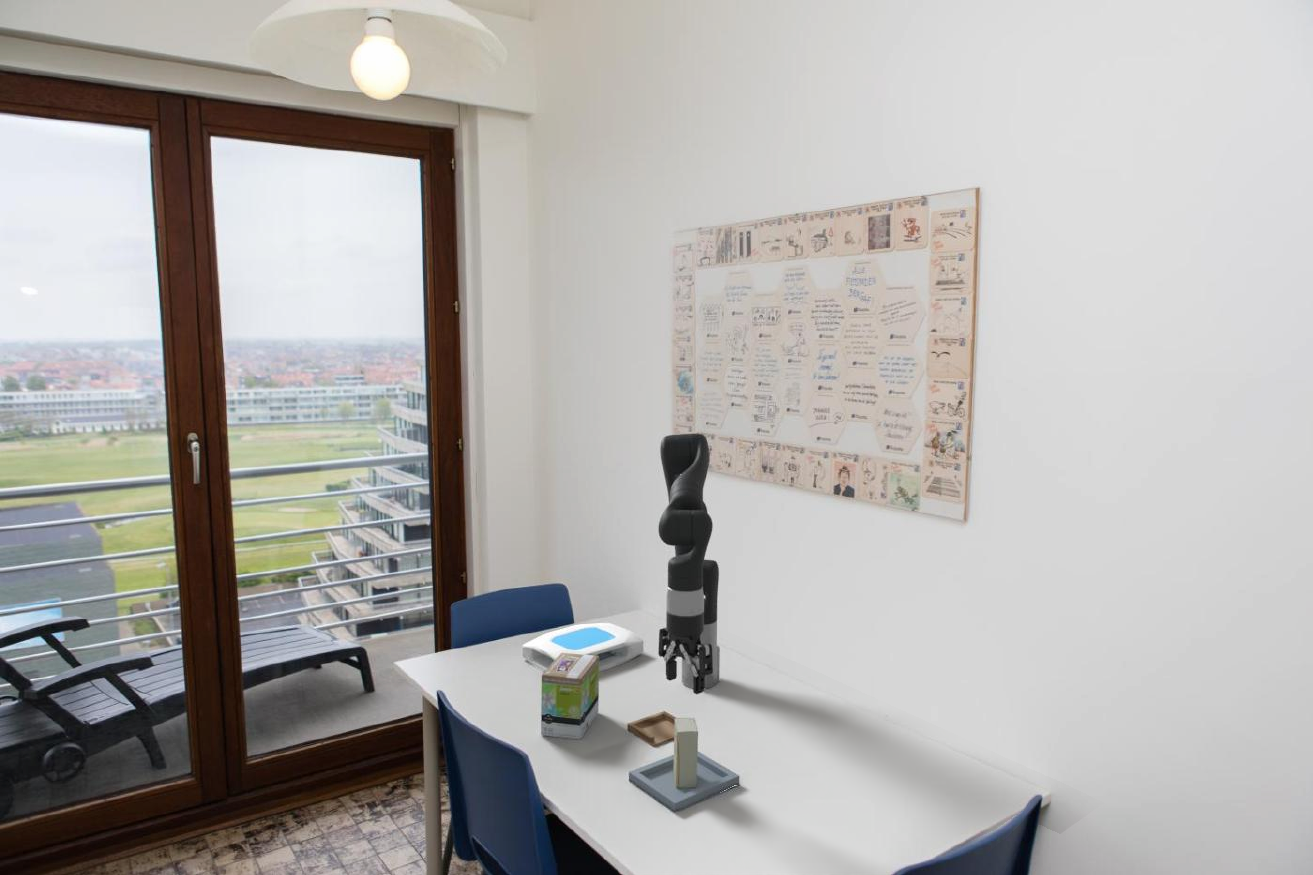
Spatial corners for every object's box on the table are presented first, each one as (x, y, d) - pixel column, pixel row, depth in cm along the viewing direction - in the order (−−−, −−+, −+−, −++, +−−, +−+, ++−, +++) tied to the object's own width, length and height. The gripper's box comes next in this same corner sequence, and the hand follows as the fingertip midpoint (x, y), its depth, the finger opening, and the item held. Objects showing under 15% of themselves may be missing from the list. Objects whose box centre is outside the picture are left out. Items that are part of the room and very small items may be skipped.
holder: (664, 717, 204) (664, 711, 204) (691, 733, 196) (691, 726, 196) (627, 730, 197) (627, 723, 197) (653, 746, 189) (653, 739, 189)
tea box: (582, 740, 192) (581, 678, 190) (540, 736, 194) (539, 674, 192) (599, 712, 207) (599, 654, 205) (560, 708, 209) (559, 650, 207)
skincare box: (673, 773, 177) (673, 717, 175) (694, 772, 177) (694, 716, 176) (675, 789, 170) (676, 731, 169) (697, 788, 171) (698, 730, 169)
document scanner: (521, 660, 240) (521, 639, 240) (599, 637, 259) (599, 618, 258) (565, 683, 225) (564, 660, 224) (644, 657, 243) (644, 636, 243)
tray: (691, 756, 185) (691, 747, 185) (739, 784, 173) (739, 775, 173) (628, 781, 175) (628, 771, 174) (674, 813, 163) (674, 803, 163)
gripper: (723, 613, 166) (722, 692, 168) (677, 596, 177) (676, 670, 179) (693, 621, 162) (693, 703, 164) (648, 603, 173) (648, 679, 175)
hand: (684, 685), depth 171 cm, fingers open, 8 cm apart
